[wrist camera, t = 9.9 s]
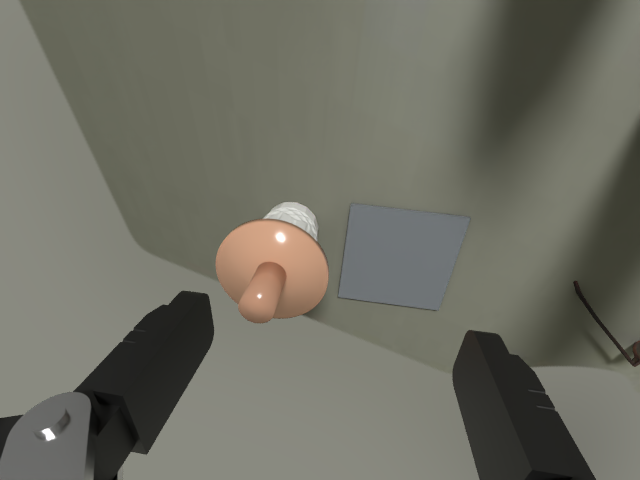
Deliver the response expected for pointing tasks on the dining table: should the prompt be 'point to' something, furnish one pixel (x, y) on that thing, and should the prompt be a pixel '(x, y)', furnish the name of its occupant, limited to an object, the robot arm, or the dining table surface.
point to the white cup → (295, 216)
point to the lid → (272, 269)
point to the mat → (400, 255)
